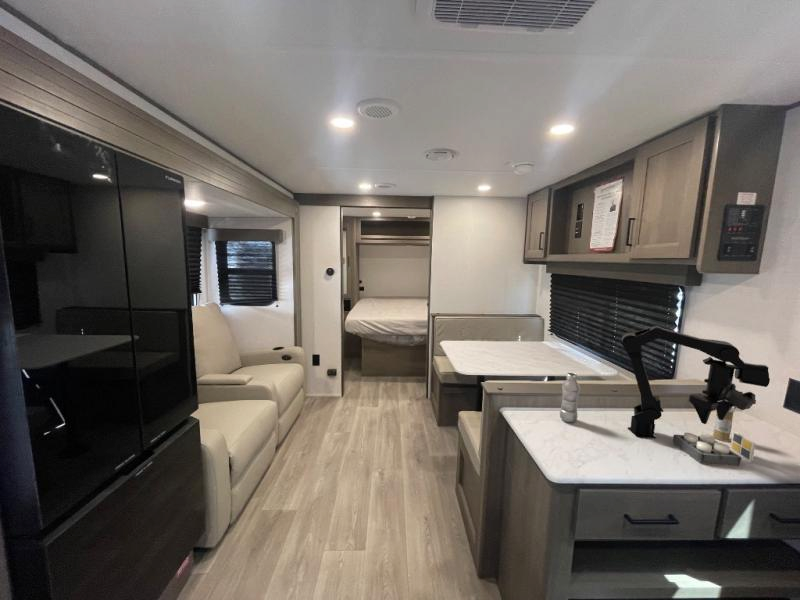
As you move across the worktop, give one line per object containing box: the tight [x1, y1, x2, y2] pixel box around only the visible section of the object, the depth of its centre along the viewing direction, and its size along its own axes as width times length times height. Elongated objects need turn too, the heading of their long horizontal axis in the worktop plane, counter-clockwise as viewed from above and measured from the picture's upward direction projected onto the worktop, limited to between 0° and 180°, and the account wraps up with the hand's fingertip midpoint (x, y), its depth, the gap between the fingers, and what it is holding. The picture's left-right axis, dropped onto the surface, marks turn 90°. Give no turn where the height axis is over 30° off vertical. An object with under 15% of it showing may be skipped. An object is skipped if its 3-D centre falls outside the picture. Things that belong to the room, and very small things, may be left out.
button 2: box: [696, 441, 712, 453], centre depth 104 cm, size 4×4×2 cm
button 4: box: [713, 441, 731, 455], centre depth 103 cm, size 4×4×2 cm
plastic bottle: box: [559, 372, 581, 423], centre depth 127 cm, size 6×7×20 cm
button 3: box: [699, 433, 716, 445], centre depth 109 cm, size 4×4×2 cm
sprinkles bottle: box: [712, 406, 736, 442], centre depth 115 cm, size 5×5×14 cm
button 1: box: [683, 432, 699, 444], centre depth 109 cm, size 4×4×2 cm
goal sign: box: [729, 431, 757, 464], centre depth 105 cm, size 1×7×7 cm, turn 174°
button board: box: [672, 434, 742, 467], centre depth 107 cm, size 12×12×3 cm
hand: (712, 421), depth 107 cm, fingers open, 9 cm apart
